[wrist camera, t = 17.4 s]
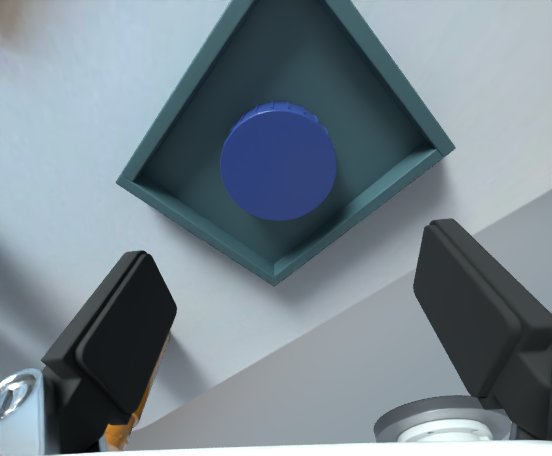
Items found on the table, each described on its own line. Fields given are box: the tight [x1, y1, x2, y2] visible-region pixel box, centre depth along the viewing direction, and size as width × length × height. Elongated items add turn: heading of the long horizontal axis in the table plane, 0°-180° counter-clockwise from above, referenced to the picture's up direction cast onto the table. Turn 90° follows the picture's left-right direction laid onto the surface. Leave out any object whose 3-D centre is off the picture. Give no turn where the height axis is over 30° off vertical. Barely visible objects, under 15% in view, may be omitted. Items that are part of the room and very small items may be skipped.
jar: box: [105, 333, 170, 452], centre depth 24 cm, size 6×6×10 cm
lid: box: [220, 101, 337, 221], centre depth 16 cm, size 7×7×2 cm
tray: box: [116, 0, 455, 286], centre depth 17 cm, size 16×14×2 cm
